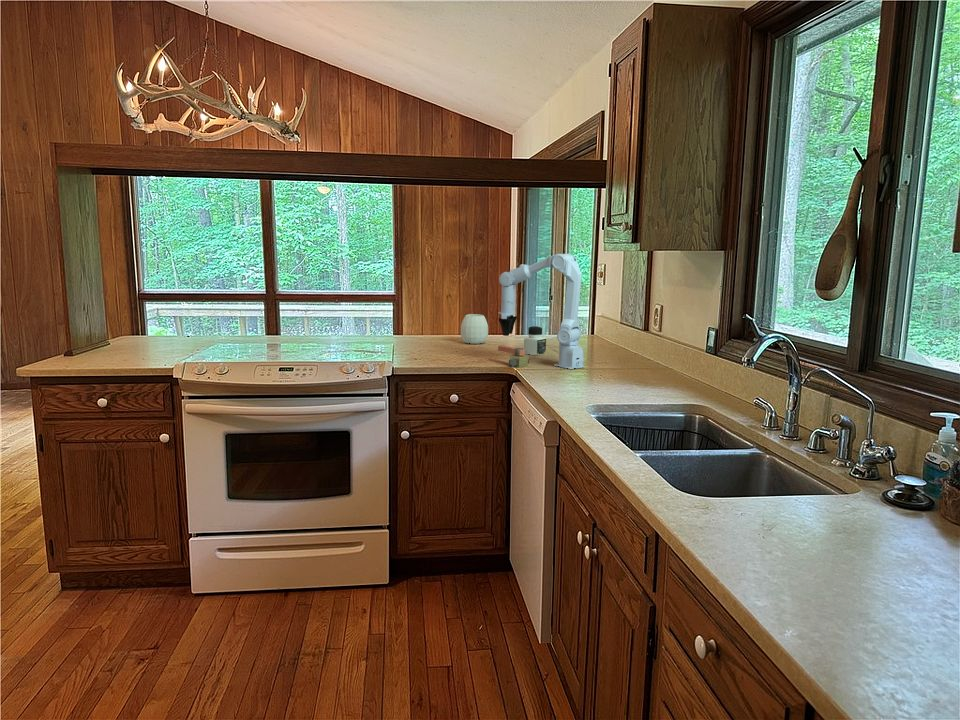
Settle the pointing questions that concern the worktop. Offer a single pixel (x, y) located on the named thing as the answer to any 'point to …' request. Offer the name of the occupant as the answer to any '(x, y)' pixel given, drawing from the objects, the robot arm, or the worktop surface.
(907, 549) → the worktop surface
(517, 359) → the valve
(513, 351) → the lever
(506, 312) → the robot arm
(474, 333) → the cup
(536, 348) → the medicine bottle
